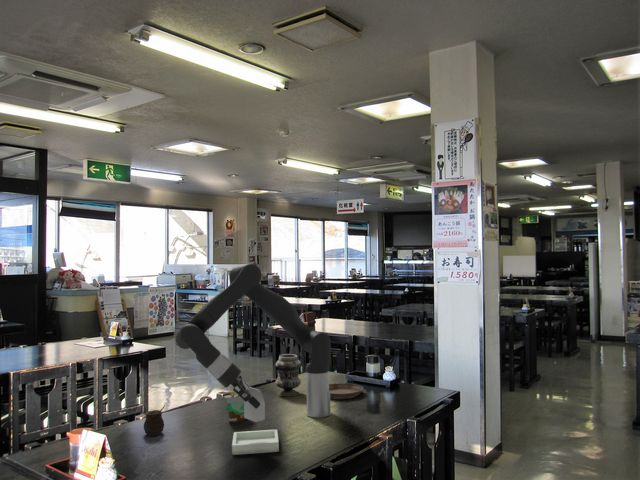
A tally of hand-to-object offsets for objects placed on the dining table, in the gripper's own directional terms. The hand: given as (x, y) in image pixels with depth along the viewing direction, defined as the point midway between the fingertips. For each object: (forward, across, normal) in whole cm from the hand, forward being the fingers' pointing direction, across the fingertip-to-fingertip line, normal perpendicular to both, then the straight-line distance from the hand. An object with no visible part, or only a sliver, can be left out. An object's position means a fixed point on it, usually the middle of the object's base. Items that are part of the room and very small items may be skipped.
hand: (258, 403), depth 172 cm
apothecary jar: (+20, +66, 0) cm, 69 cm away
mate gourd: (-17, +20, +37) cm, 46 cm away
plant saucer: (+37, +60, -17) cm, 72 cm away
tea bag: (+3, 0, +5) cm, 6 cm away
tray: (+9, 0, +11) cm, 14 cm away
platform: (+4, +52, +17) cm, 55 cm away
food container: (+5, +31, +15) cm, 35 cm away
